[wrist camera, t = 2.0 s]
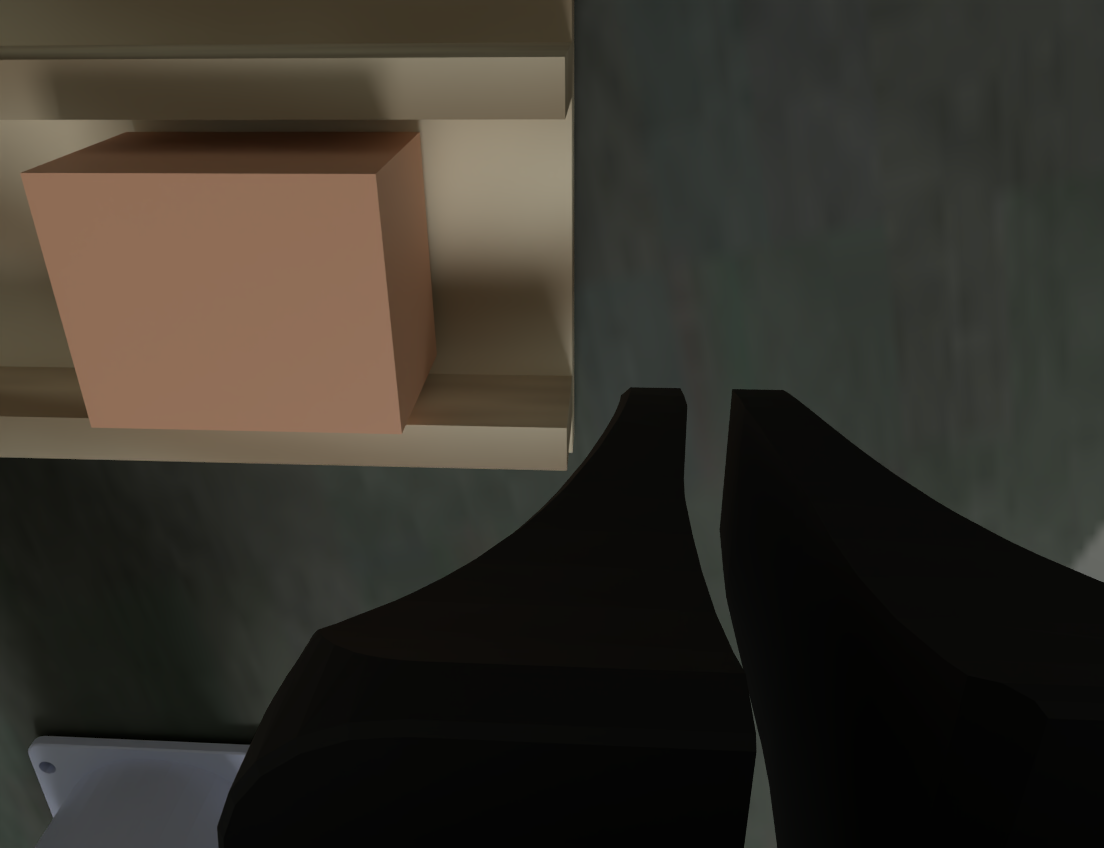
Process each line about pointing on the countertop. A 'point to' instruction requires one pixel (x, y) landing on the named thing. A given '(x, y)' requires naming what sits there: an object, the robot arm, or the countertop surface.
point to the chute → (320, 106)
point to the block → (242, 278)
